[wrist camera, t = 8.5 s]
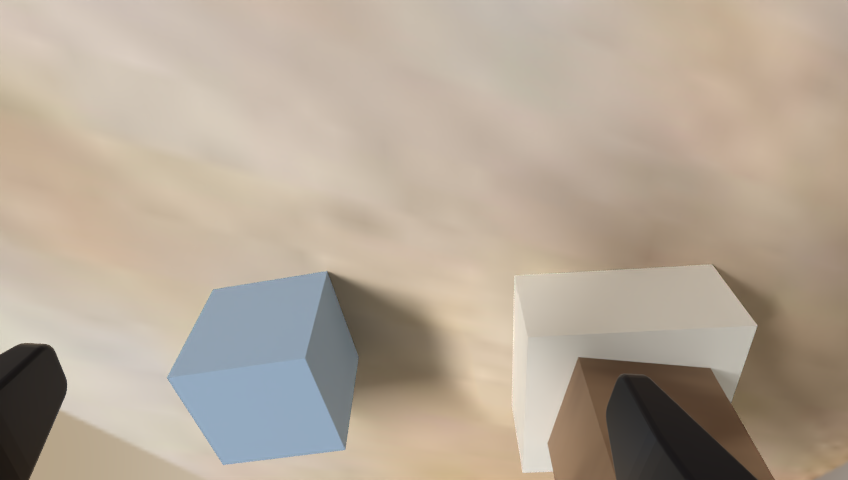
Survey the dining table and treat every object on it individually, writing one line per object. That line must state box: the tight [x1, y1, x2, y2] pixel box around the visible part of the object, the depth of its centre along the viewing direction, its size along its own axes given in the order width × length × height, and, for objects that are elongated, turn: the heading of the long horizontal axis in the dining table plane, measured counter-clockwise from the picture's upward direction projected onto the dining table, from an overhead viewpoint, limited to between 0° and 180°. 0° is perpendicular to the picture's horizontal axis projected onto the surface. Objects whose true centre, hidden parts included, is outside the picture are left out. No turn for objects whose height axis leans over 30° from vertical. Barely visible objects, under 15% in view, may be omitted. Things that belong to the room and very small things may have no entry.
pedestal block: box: [512, 264, 757, 473], centre depth 23 cm, size 8×8×4 cm
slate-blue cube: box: [167, 271, 359, 465], centre depth 22 cm, size 5×5×5 cm
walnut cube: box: [547, 357, 775, 480], centre depth 19 cm, size 5×5×6 cm
